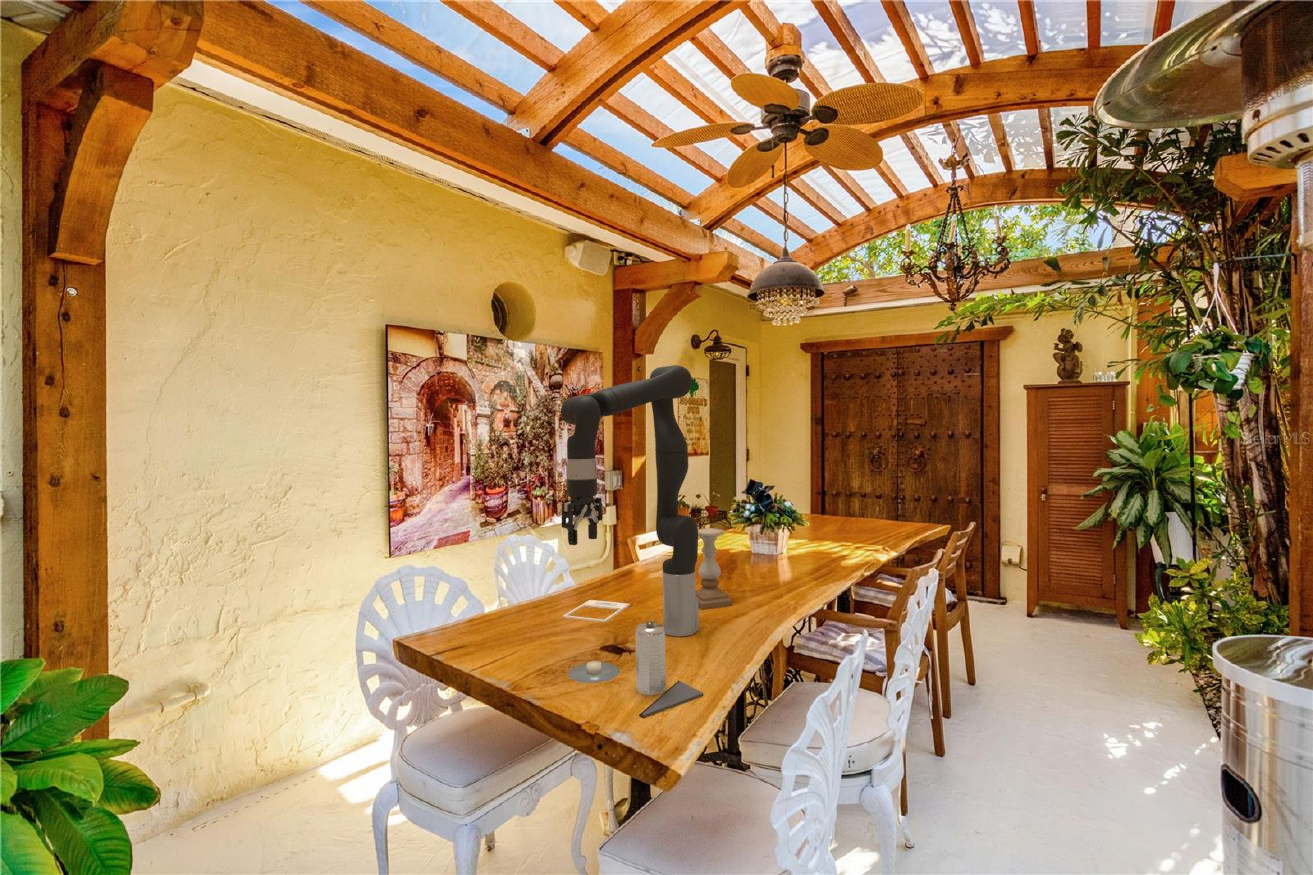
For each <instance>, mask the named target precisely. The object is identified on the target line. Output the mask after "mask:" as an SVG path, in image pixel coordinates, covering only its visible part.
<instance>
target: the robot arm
mask: <svg viewBox="0 0 1313 875" xmlns="http://www.w3.org/2000/svg"><path fill="white" fill-rule="evenodd" d="M692 386H693V378H692V375H691V372H690V370H689V369H687V368H686V367H684V366H682V365H675V364H674V365H667V366H660V367H659V366H658V367H656V368H655V369H654V370H653V371H651V373H650V377H649V378H646V379H642V380H638V381H637V380H636V381H630V382H625V383H620V384H616V385H613V386H610V387H607V388H603V389H600V390H597V391H594V392H590V393H586V394H580V395H576V396H572V397H569V398H568V399H566V400H565V401H564V402H563V403H562V404H561V408H560V415H561V418H562V419H563V421H564V422H565V423H566V424H569V425H572V426H574V432H573V434H572V435H570V436H568V438H567V442H566V455H567V456H566V457H567V460H566V461H567V462H566V471H565V472H566V495H567V496H568V497H569V498H570V502H562V503H561V528H562V529H566V530H567V543H568V545H569V546H577V545H578V542H579V541H578V527H579V524H580V523H581V522H582V521H583V519H586V520H587V523H588V524H587V526H588V527H587V530H588V532H587V533H588V536H587V538H588V539H589V540H597V539H598V524H599V522H600V521H602V520H603V518H604V517H603V502H602V497H597V495H598V468H597V467H598V466H597V461H596V460H597V459H596V456H597V455H596V439H597V435H598V432H599V426H600V422H601V421H600V420H601V417H610V416H613V415H616V414H620V413H622V412H626V411H628V410H631V409H634V408H637V407H639V406H643V405H646V404H649V403H651V409H652V417H653V428H654V430H653V431H654V442H655V443H654V446H655V449H654V450H655V467H656V490H657V491H656V493H657V494H656V495H657V497H656V514H655V515H656V518H655V519H656V520H655V531H656V537H657V539H658V541H659V542H660V543H661V544H662V545H664V546H668V547H672V557H671V558H666V559H665V560H664V561H663V562H662V599H663V600H662V604H663V605H662V606H663V607H662V608H663V626H664V631H665V635H668V636H671V637H687V636H692V635H694V634H696V633H697V632H698V631H700V624H699V623H700V622H699V620H700V616H699V609H700V608H699V607H698V597H696V593H695V591H696V565H697V561H698V556H699V553H698V552H699V536H698V529H699V527H698V524H697V522H696V520H695V519H694V518H693V517H692V516H689V515H684V514H679V507H678V506H679V505H678V503H679V494H680V491H681V490H680V489H681V488H682V485H683V483H684V482H685V479H686V476H687V474H688V469H689V451H688V450H689V449H688V443H687V440H686V437H685V435H684V433H683V432H682V429H681V427H680V426H679V424H678V422H677V419H676V416H675V412H674V411H675V410H674V399H681V398H683V397H685V396H686V395H688V393H690V390H691V389H692Z"/></svg>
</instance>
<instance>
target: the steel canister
mask: <svg viewBox="0 0 1313 875" xmlns="http://www.w3.org/2000/svg"><path fill="white" fill-rule="evenodd" d="M634 632H635V633H634V634H635V638H634V639H635V640H634V641H635V679H636V680H635V682H636V684H635V685H636V690H637V692H638V693H639V694H641V695H643V696H644V695H645V696H655V695H662V694H663V692H666V691H667V682H666V678H667V676H666V673H667V672H666V669H667V668H666V634H665V631H664V624H661V623H657V622H653V621H646V622H644V623H640V624H638V625H637V626H636V628H635V631H634ZM665 690H666V691H665Z"/></svg>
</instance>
